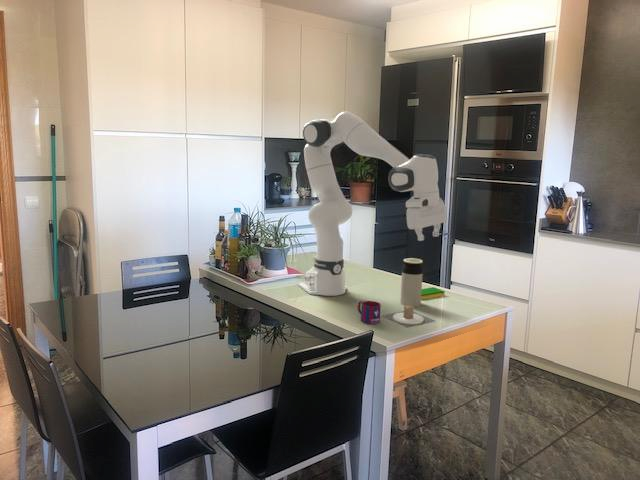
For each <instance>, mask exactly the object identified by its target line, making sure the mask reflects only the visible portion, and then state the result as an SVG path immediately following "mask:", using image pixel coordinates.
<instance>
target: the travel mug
mask: <svg viewBox="0 0 640 480" xmlns="http://www.w3.org/2000/svg"><path fill="white" fill-rule="evenodd" d="M423 262H424V261H423V260H422V259H421V258H415V257H409V258H404V259H403V265H402V267H401V282H400V283H401V285H400V297H399V299H400V305H402V306H403V307H404V306H405V305H410V306H413V307H414V308H415V307H420V306H421V304H422V303H421V302H422V300H421V290H422V289H423V275H424V274H423V271H424V268H423V267H422V265H423Z"/></svg>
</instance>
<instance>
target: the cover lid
mask: <svg viewBox="0 0 640 480" xmlns="http://www.w3.org/2000/svg"><path fill="white" fill-rule="evenodd" d="M403 311H404V312H403V313H397V312H395V313H396V314H394V315H393V320H394V321H396V322H398V323H401V324H407V325H417V324H421V323H423V322H424V318H423V317H422V316H420V315H418V314H419V313H418V314H414V312H415V307H413V306H410V305H405V306H404V305H403ZM396 322H395V323H396ZM398 323H397V324H398ZM421 325H422V324H421ZM417 326H418V325H417Z"/></svg>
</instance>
